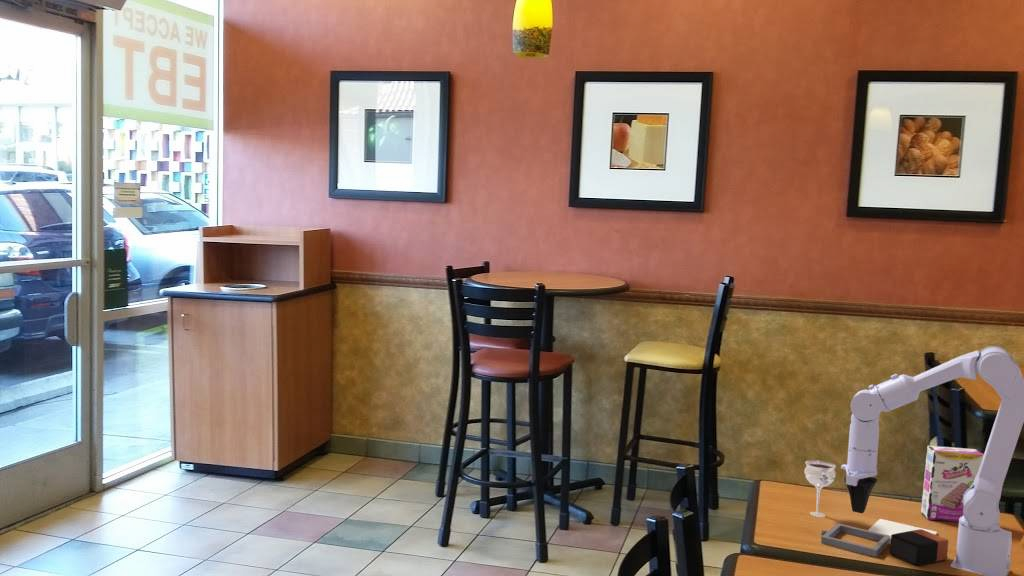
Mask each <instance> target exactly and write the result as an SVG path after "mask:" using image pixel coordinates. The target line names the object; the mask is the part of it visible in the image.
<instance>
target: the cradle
mask: <svg viewBox="0 0 1024 576" xmlns="http://www.w3.org/2000/svg"><path fill="white" fill-rule="evenodd" d="M839 533H844V534H848V535H851V536H855V537H859V538H862V539H867V540H871V541H875V542H877V543H876V544H875V545H874V546H873V547H872V546H868V545H863V544H859V543H856V542H851V541H847V540H844V539H839V538H835V537H837V535H838V534H839ZM821 535H822V536H821V539H820V543H821V544H823V545H827V546H831V547H833V548H837V549H842V550H844V551H849V552H853V553H855V554H856V553H857V554H861V555H865V556H869V557H873V558H877V557H879V555H880V554H881V553H882V552H883V551H884V550H885V549H886V548H887V547H888V546H889V544H891V540H890V538H891V536H889V535H885V534H881V533H877V532H872V531H868V530H867V529H864V528H859V527H855V526H850V525H845V524H843V523H836V524H835V525H834V526H832V527H831V528H830V529H829V530H828V531H827V530H821Z"/></svg>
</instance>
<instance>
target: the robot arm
mask: <svg viewBox="0 0 1024 576" xmlns="http://www.w3.org/2000/svg"><path fill="white" fill-rule="evenodd" d="M977 374H978V375H979V377H980V378H981V379H982V380H983V381H984V382H985V383H987V384H988V385H989V386H991V387H992V388H994V390H995V391H996V392H995V393H996V394H997V395H998V396H999V397H1000V399H1001V401H1000V404H999V408H998V411H997V414H996V417H995V419H994V422H993V425H992V428H991V432H990V435H989V438H988V441H987V443H986V446H985V451H984V453H983V454H984V456H983V459H982V462H981V465H980V468H979V471H978V473H977V475H976V477H975V479H974V482H973V484H972V486H971V487H970V488H969V489H968V490H966V492H965V493H964V495H963V504H964V508H963V516H962V517H960V518H959V522H958V529H957V530H958V531H957V539H956V540H957V541H956V551H955V552H956V553H955V558H954V559H953V561H952V562H951V564H950V565H949V566H950V567H951V568H954V569H958V570H961V571H966V572H970V573H973V574H978V575H981V576H1007V575H1008V574H1009V571H1010V569H1011V563H1012V561H1011V553H1012V543H1013V542H1012V541H1013V533H1012V532H1011V531H1009V530H1006V529H1003V528H1001V524H1000V522H999V521H1000V518H1001V512H1000V509H999V504H1000V500H1001V498H1002V497H1001V496H1002V490H1003V486H1004V482H1005V479H1006V476H1007V474H1008V470H1009V467H1010V464H1011V461H1012V458H1013V456H1014V453H1015V449H1016V446H1017V444H1018V440H1019V437H1020V433H1021V431H1022V428H1023V425H1024V376H1023V373H1022V371H1021V368H1020V367H1019V364H1018V362H1017V361H1016V360H1015V359H1014V358H1013V357H1012V355H1011V354H1010V353H1009V352H1008V351H1007V350H1006V349H1004V347H1003V348H1002V347H1000V346H997V345H996V346H995V345H992V346H986V347H984V348H983V349H981V350H980V351H979V350H974V351H972V352H968V353H965V354H962V355H960V356H957V357H955V358H952V359H950V360H948V361H946V362H943V363H942V364H939V365H938V366H934V367H933V368H930V369H928V370H926V371H923V372H921V373H919V374H917V375H914V376H911V375H908V374H904V373H903V374H900V375H898V374H897V373H894V374H892V375H890V379H888V380H885V381H883V382H881V383H879V384H877V385H874V384H870V385H868V389H862V390H859V391H858V392H856V393H855V395H854V396H853V398H852V400H851V402H850V411H851V413H852V414H851V415H850V422H851V423H850V424H849V435H848V445H847V446H848V447H847V449H848V450H847V461H846V464H845V463H843V464H841V466H840V468H841V469H840V470H844V471H845V472H846V476H845V477H844V484H845V486H846V487H847V490H848V494H849V499H850V504H851V511H852V512H854V513H858V514H864V513H865V511H866V508H867V506H868V501H869V498H870V496H871V493H872V491H873V489H874V487H875V485H876V484H877V482H878V479H877V478H876V476H877V475H878V469H877V466H878V465H877V464H878V452H879V442H880V441H879V439H880V427H879V424H880V423H879V422H880V416H881V412H885V413H886V412H887V413H888V412H891V411H893V410H895V409H899V408H900V407H903V406H906V405H908V404H910V403H913V402H915V401H917V400H918V399H919V396H920V394H921V392H923V391H925V390H928V389H932V388H933V387H936V386H939V385H942V384H945V383H947V382H951V381H953V380H956V379H958V378H964V379H970V380H977Z"/></svg>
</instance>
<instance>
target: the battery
mask: <svg viewBox="0 0 1024 576" xmlns="http://www.w3.org/2000/svg"><path fill="white" fill-rule="evenodd" d="M889 544H890V545H889V554H890V555H891V556H893V557H896V558H898V559H900V560H903V561H904V562H907V563H909V564H912V565H914V566H922V565H927V564H932V563H935V562H937V563H938V562H940V561H941V562H942V561H946V560H947V559H948V551H949V540H948V539H947V538H945V537H942V536H940V535H937V534H936V535H935V534H932V533H930V532H927V531H925V530H922V529H918V530H913V531H908V532H902V533H897V534H892V535H891V540H890V543H889Z"/></svg>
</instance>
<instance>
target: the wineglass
mask: <svg viewBox="0 0 1024 576" xmlns="http://www.w3.org/2000/svg"><path fill="white" fill-rule="evenodd" d="M804 462H805V465H806V466H805V468H804V473H803V474H804V476H805V479H806V480H807V481H808V482H809V483H810V484H811V485H813V486H814V488H815V489H816V506H815V507H816V510H815V511H810V512H809V513H810V514H811V515H810V514H809V515H810V516H812V515H813V517H815V516H816V517H817V518H825V517H826V514H824V513H822V512H819V505H820V496H821V491H822V490H821V489H823V488H825V487H828V486H830V485H831V484H832V483H833V482H834V481H835V479H836V471H835V469H836V467H837V466H836V464H834V463H832V462H830V461H825V460H824V461H823V460H817V459H814V460H813V459H812V460H811V459H810V460H806V461H804ZM816 517H815V518H816Z"/></svg>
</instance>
